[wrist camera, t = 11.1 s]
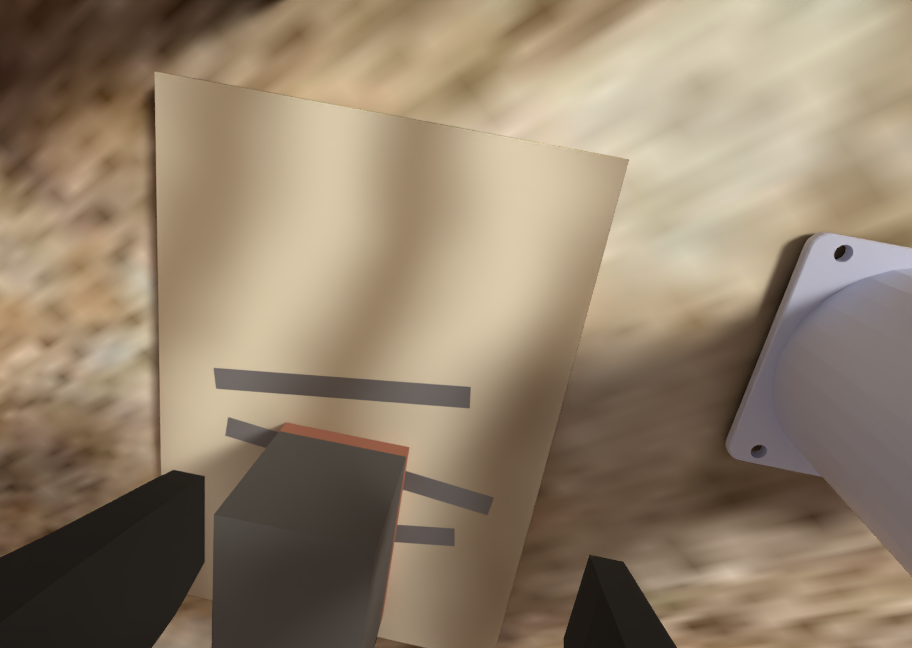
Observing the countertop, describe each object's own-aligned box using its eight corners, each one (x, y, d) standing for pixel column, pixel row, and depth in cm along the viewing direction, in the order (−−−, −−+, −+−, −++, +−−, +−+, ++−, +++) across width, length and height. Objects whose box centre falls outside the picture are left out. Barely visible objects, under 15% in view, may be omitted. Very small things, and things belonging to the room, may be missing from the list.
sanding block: (409, 447, 19) (376, 548, 15) (382, 615, 22) (347, 746, 17) (286, 422, 19) (214, 514, 15) (274, 592, 22) (210, 715, 18)
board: (621, 158, 17) (629, 159, 15) (493, 636, 23) (492, 662, 22) (178, 75, 17) (154, 71, 16) (179, 567, 24) (162, 589, 23)
